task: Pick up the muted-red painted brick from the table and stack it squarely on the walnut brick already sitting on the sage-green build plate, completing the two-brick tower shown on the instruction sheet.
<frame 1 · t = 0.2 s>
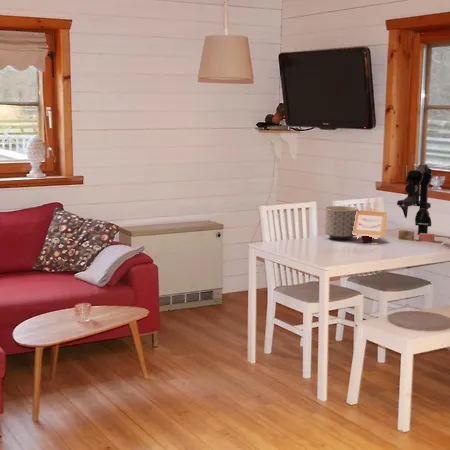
hand: (412, 218, 433), 14 cm above the table, fingers open, 9 cm apart
brick walnut: (406, 239, 439), point 1 cm above the table, touching build plate
instruction sheet: (389, 239, 444), on the table
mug: (368, 242, 434), on the table
planter: (340, 239, 445), on the table
brick red: (426, 242, 437), on the table
build plate: (406, 241, 440), on the table
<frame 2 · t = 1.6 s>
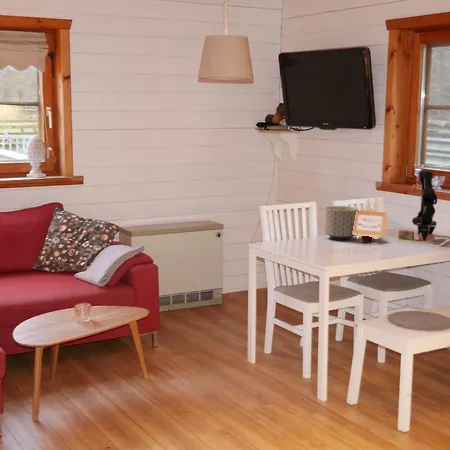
hand: (426, 239, 437), 2 cm above the table, fingers open, 9 cm apart
nothing on the table moved.
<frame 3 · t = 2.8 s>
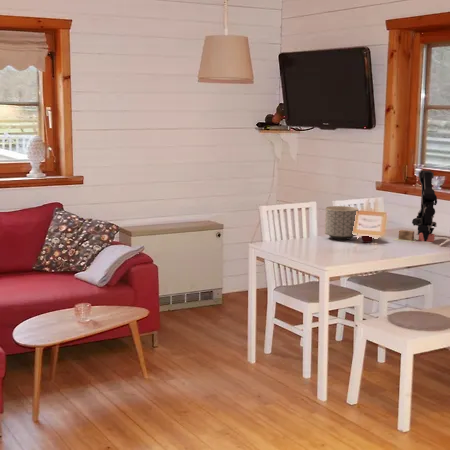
hand: (426, 240, 437), 1 cm above the table, fingers closed on brick red, 4 cm apart
brick red: (426, 242, 437), on the table, touching gripper
everything else where it was.
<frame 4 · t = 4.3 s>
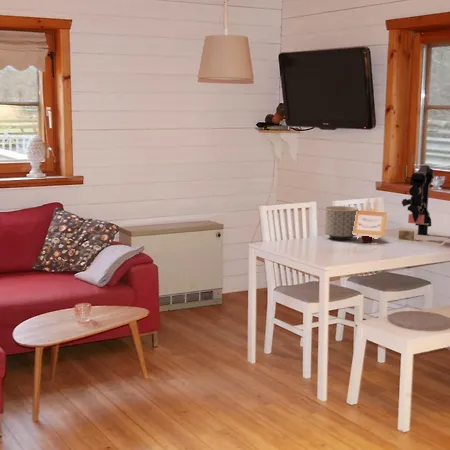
hand: (416, 221, 436), 12 cm above the table, fingers closed on brick red, 4 cm apart
brick red: (416, 223, 436), point 11 cm above the table, touching gripper
everything else where it was.
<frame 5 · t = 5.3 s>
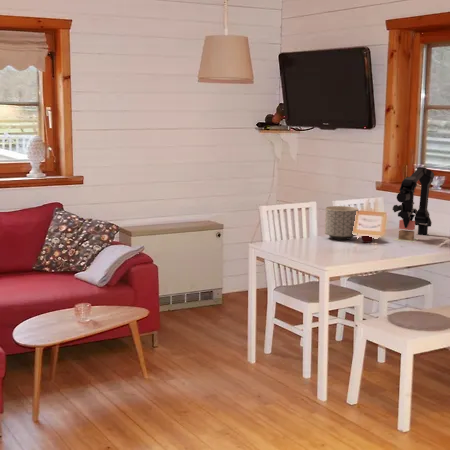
hand: (406, 227, 438), 8 cm above the table, fingers closed on brick red, 4 cm apart
brick red: (406, 229, 438), point 7 cm above the table, touching gripper
everything else where it was.
when the fingers open (8 cm above the table, at t = 6.0 s): brick red stays where it is, resting on brick walnut.
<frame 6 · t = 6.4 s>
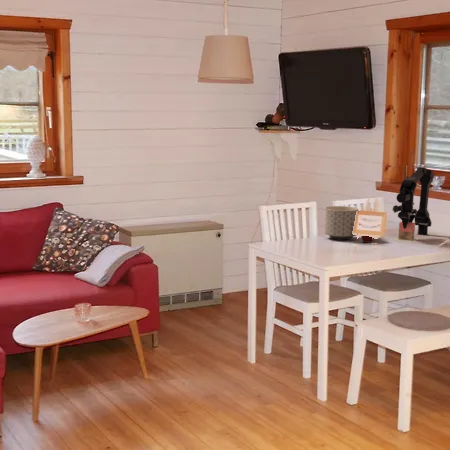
hand: (406, 227, 438), 8 cm above the table, fingers open, 8 cm apart
brick walnut: (406, 239, 439), point 1 cm above the table, touching brick red, build plate
brick red: (406, 231, 439), point 6 cm above the table, touching brick walnut
everything else where it was.
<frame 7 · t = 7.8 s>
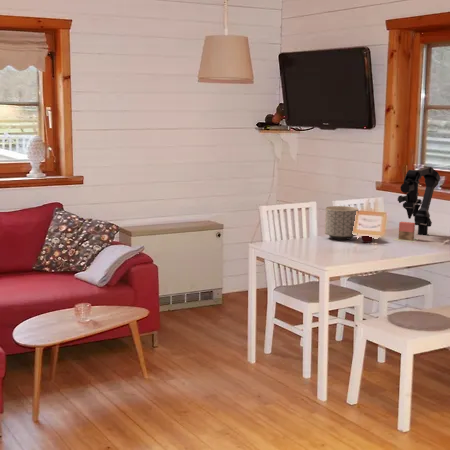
hand: (411, 217, 445), 13 cm above the table, fingers open, 9 cm apart
nothing on the table moved.
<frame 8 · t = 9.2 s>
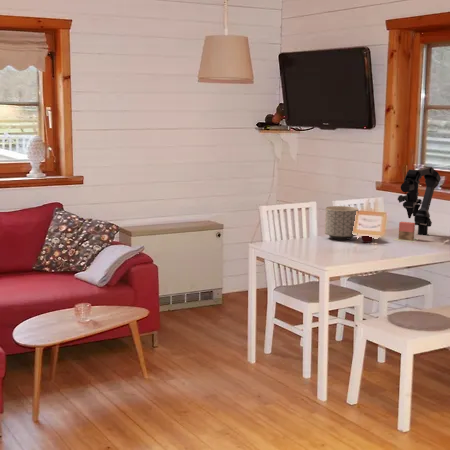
hand: (411, 217, 445), 13 cm above the table, fingers open, 9 cm apart
nothing on the table moved.
at the end: brick red 0.0 cm off-centre on the brick walnut, point 5.0 cm above the brick walnut's base; brick red tilted 0°; brick walnut moved 0.1 cm from its start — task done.
